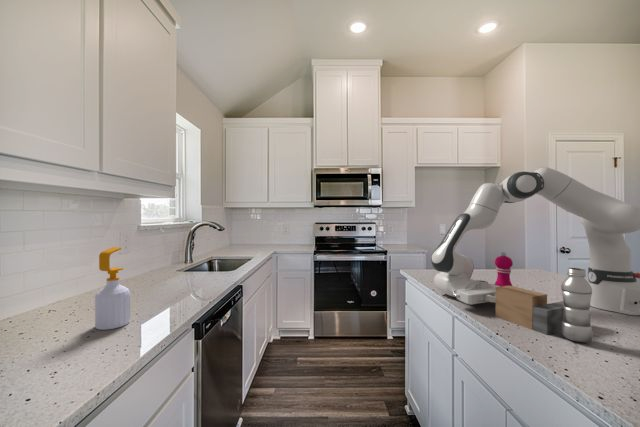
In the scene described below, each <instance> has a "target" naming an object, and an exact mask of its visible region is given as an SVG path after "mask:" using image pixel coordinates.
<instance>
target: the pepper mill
mask: <svg viewBox="0 0 640 427" xmlns="http://www.w3.org/2000/svg"><path fill="white" fill-rule="evenodd" d="M513 264H514V263H513V260H512V258H510V257H509V256H507V253H506V252H505V251H502V252H501V253H500V255H499V256H497V257H495V259H494V265H495V266H496V270H495V272H497V277H496V280H495V283H494V285H497V286H500V287H502V286H513V284H512V282H511V278H510V276H511V273H512V266H513Z"/></svg>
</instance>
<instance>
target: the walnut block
mask: <svg viewBox="0 0 640 427" xmlns="http://www.w3.org/2000/svg"><path fill="white" fill-rule="evenodd" d="M545 304H548V294H547V293H542V292H539V291H534V290H529V289H525V288H521V287H519V286H514V285H512V286H502V287H496V302H495V317H496V318H499V319H501V320H504V321H507V322H510V323H513V324H515V325H518V326H521V327H524V328H527V329H530V330H531V331H534V330H533V307H534V306H539V305H545Z"/></svg>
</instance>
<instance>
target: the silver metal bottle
mask: <svg viewBox="0 0 640 427" xmlns="http://www.w3.org/2000/svg"><path fill="white" fill-rule="evenodd" d="M566 273H567V274H566V275H567V278H565V279H564V280H563V281H562V282H561V284H560V289H561V295H562V301H563V304H564V313H563V321H562V325H561V334H562V335H563V337H564V338H566V339H567V340H569V341H573V342H577V343H582V344H583V343H584V344H585V343H587V344H588V343H590V342H592V340H593V338H594V332H593V331H594V330H593V328H592V322H591V314H590V313H591V310H590V309H591V306H590V302H591V296H592V288H591V286H590V284H589V281H588V280H586V277H587V272H586V269H585V268H578V267H567V272H566Z"/></svg>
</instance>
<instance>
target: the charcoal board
mask: <svg viewBox="0 0 640 427" xmlns="http://www.w3.org/2000/svg"><path fill="white" fill-rule="evenodd" d="M563 313H564V304H563V300H562V301H557V302H550V303H547V304H545V305H539V306H534V307H533V330H532V331H535V332H538V333H541V334H544V335H546V336H548V335H552V334H555V333H560V332H561V333H562V331H561V325H562V321H563Z"/></svg>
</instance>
